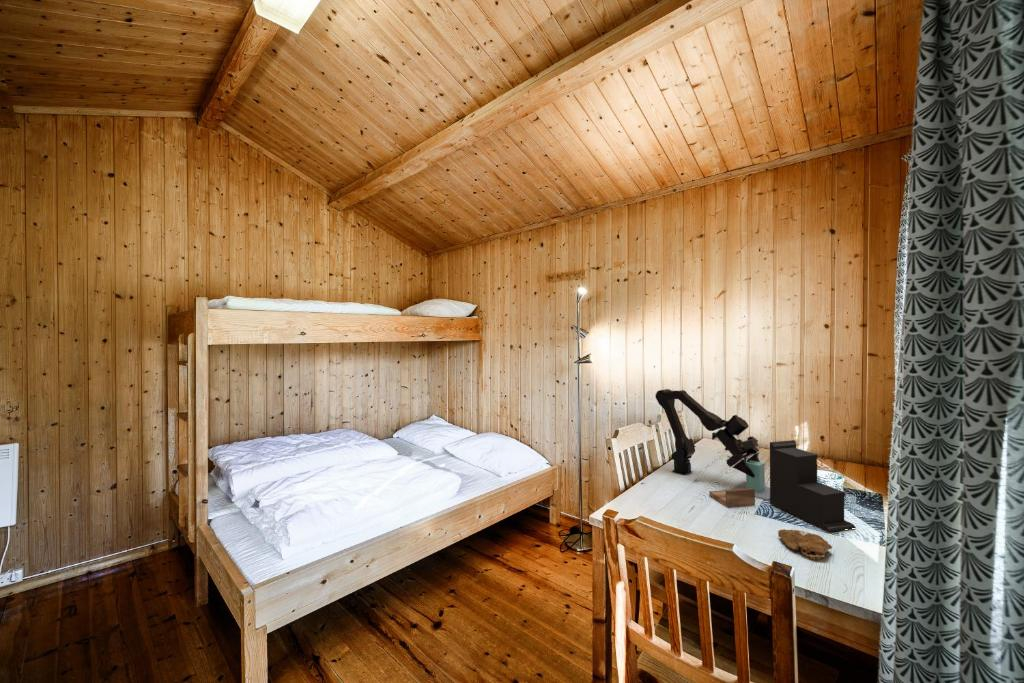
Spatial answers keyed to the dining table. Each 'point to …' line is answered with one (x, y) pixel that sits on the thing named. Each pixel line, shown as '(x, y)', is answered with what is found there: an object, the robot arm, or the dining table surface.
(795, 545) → the decorative rock
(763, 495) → the slate mat
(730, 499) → the walnut ledge
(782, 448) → the bookend
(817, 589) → the dining table surface
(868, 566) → the dining table surface
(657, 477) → the dining table surface
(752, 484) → the teal block
